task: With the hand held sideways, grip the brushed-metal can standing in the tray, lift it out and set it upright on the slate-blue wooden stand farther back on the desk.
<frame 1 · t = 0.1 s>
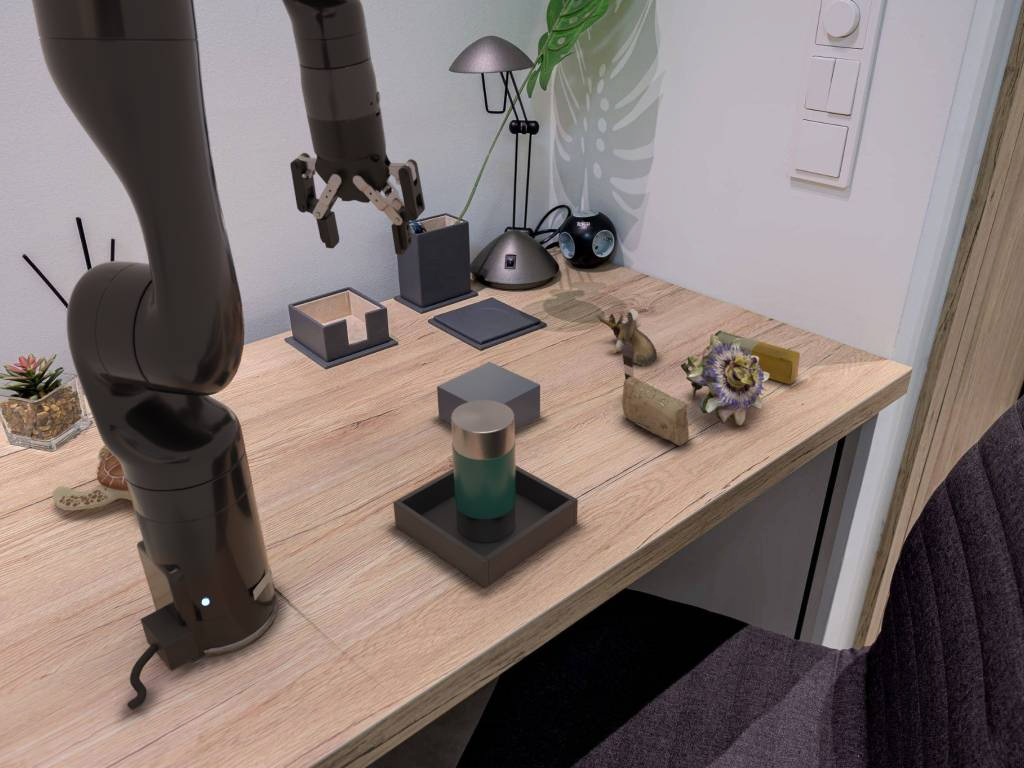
hand: (367, 248, 93), 22 cm above the table, tool pointing down, fingers open, 8 cm apart
medication box: (751, 372, 114), on the table
can: (486, 524, 84), resting on tray
passion flower: (716, 409, 105), on the table
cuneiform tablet: (649, 425, 102), on the table
stand: (489, 420, 103), on the table
tray: (486, 528, 85), on the table
decorative turtle: (146, 485, 92), on the table
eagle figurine: (628, 353, 119), on the table
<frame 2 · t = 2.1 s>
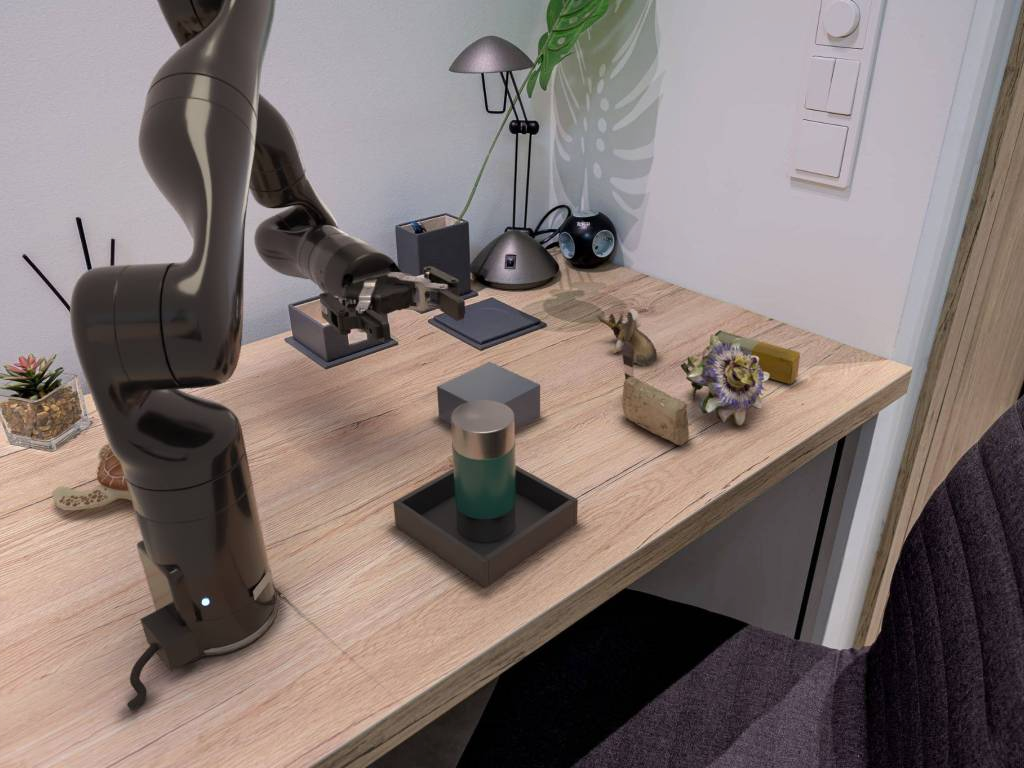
hand: (425, 322, 82), 20 cm above the table, tool horizontal, fingers open, 8 cm apart
nothing on the table moved.
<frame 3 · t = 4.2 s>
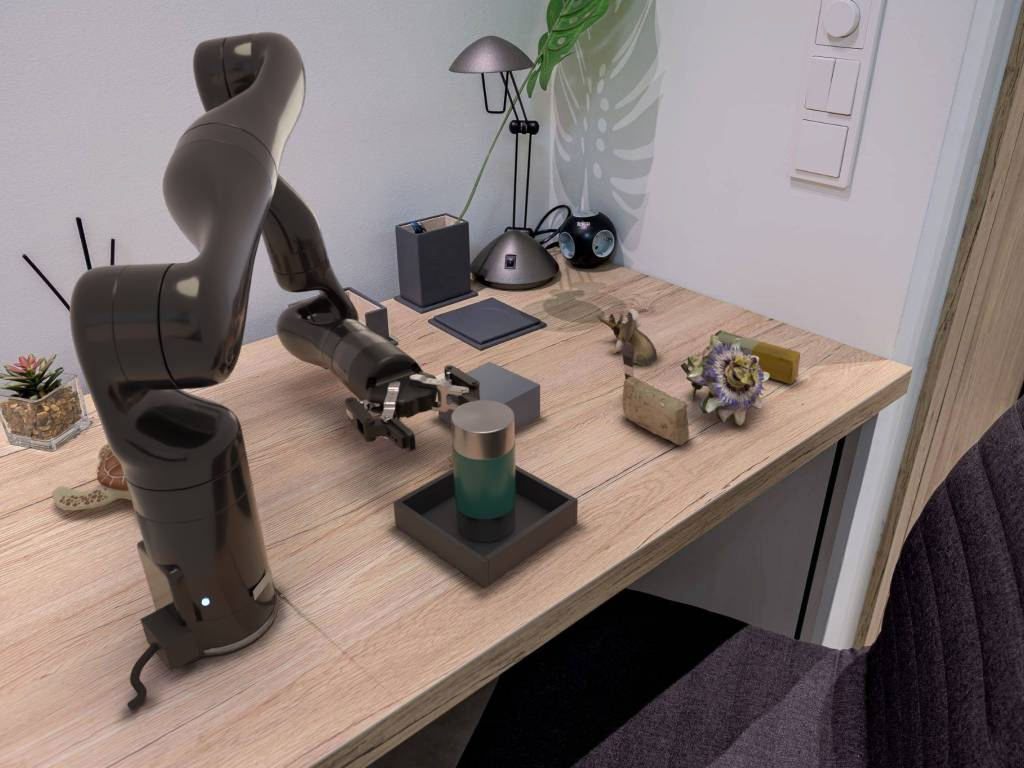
hand: (448, 430, 85), 9 cm above the table, tool horizontal, fingers open, 8 cm apart
nothing on the table moved.
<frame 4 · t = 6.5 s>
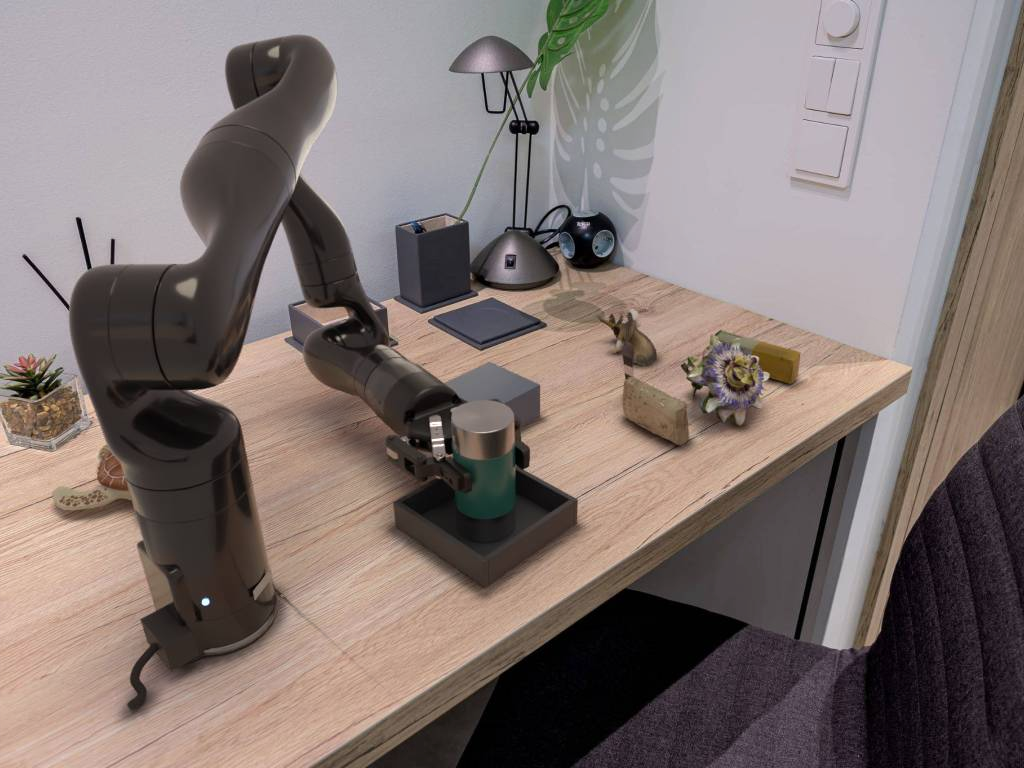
hand: (498, 472, 79), 8 cm above the table, tool horizontal, fingers closed on can, 6 cm apart
can: (486, 524, 84), point 1 cm above the table, touching tray, gripper
everything else where it was.
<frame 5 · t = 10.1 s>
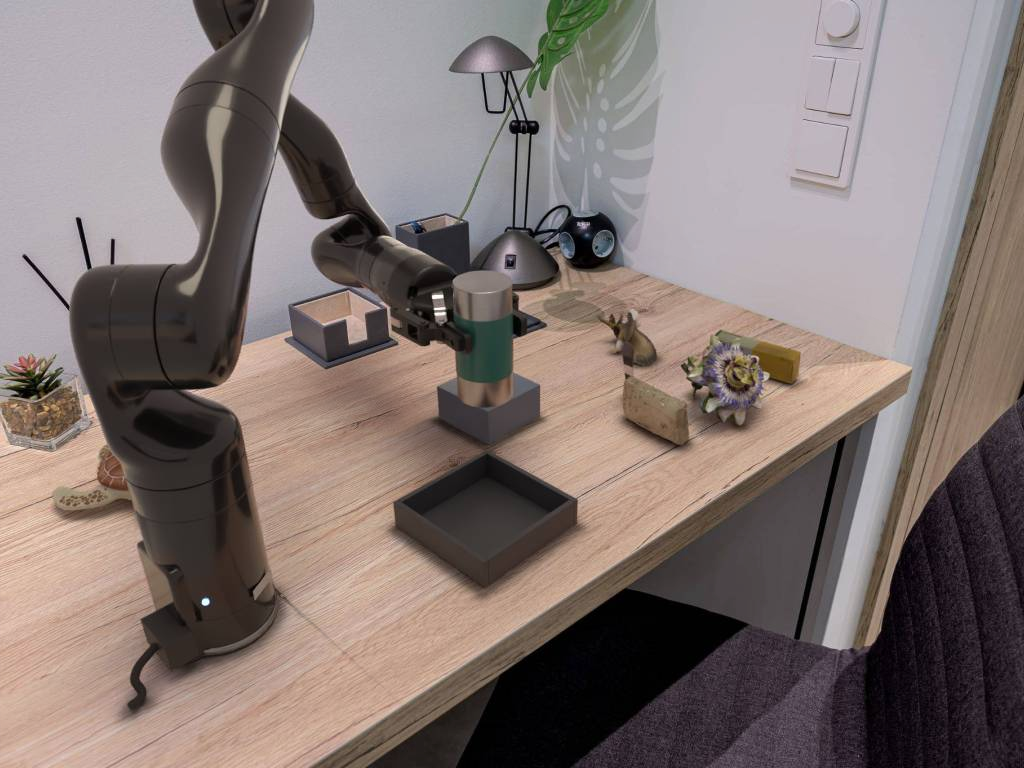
hand: (496, 336, 83), 18 cm above the table, tool horizontal, fingers closed on can, 6 cm apart
can: (485, 393, 89), point 10 cm above the table, touching gripper
everything else where it was.
when the fingers open (13 cm above the table, at t = 13.7 s): can stays where it is, resting on stand.
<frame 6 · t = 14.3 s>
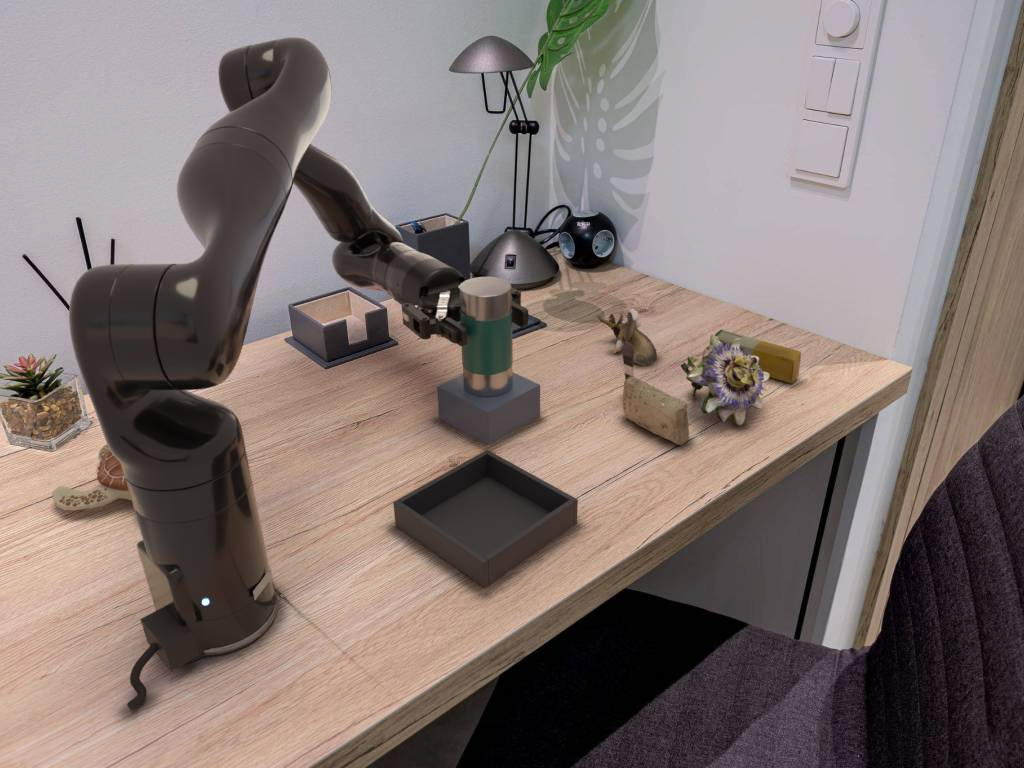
hand: (496, 328, 95), 13 cm above the table, tool horizontal, fingers open, 8 cm apart
can: (488, 385, 101), point 5 cm above the table, touching stand
everything else where it was.
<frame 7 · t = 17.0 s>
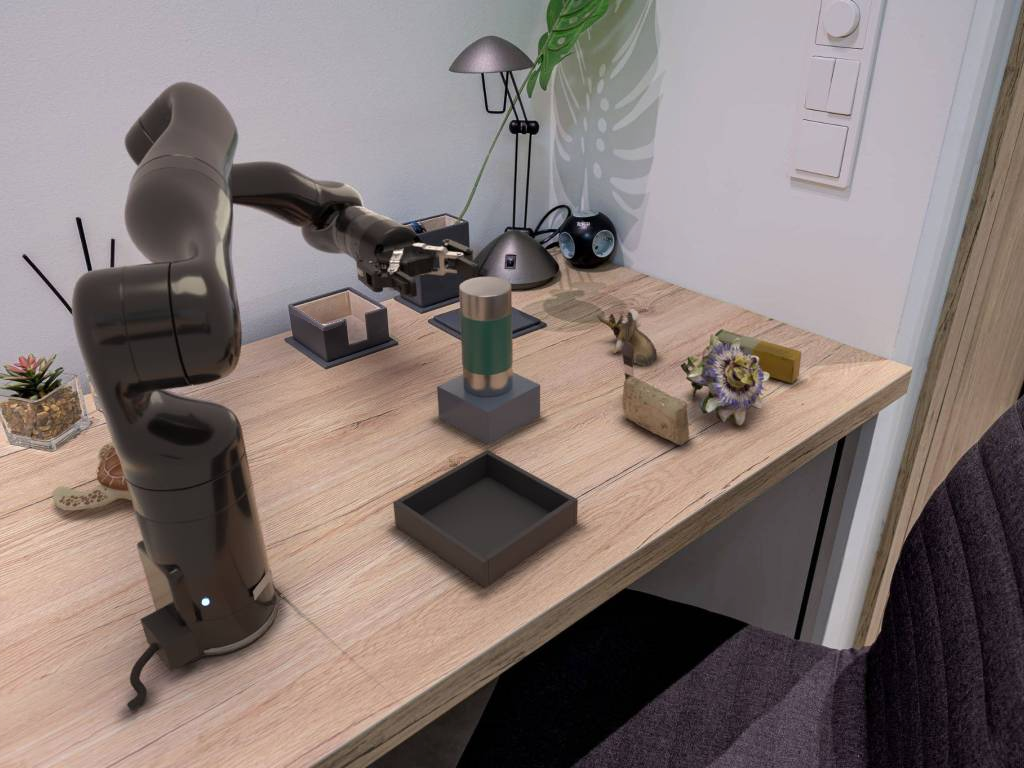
hand: (445, 281, 99), 17 cm above the table, tool horizontal, fingers open, 8 cm apart
nothing on the table moved.
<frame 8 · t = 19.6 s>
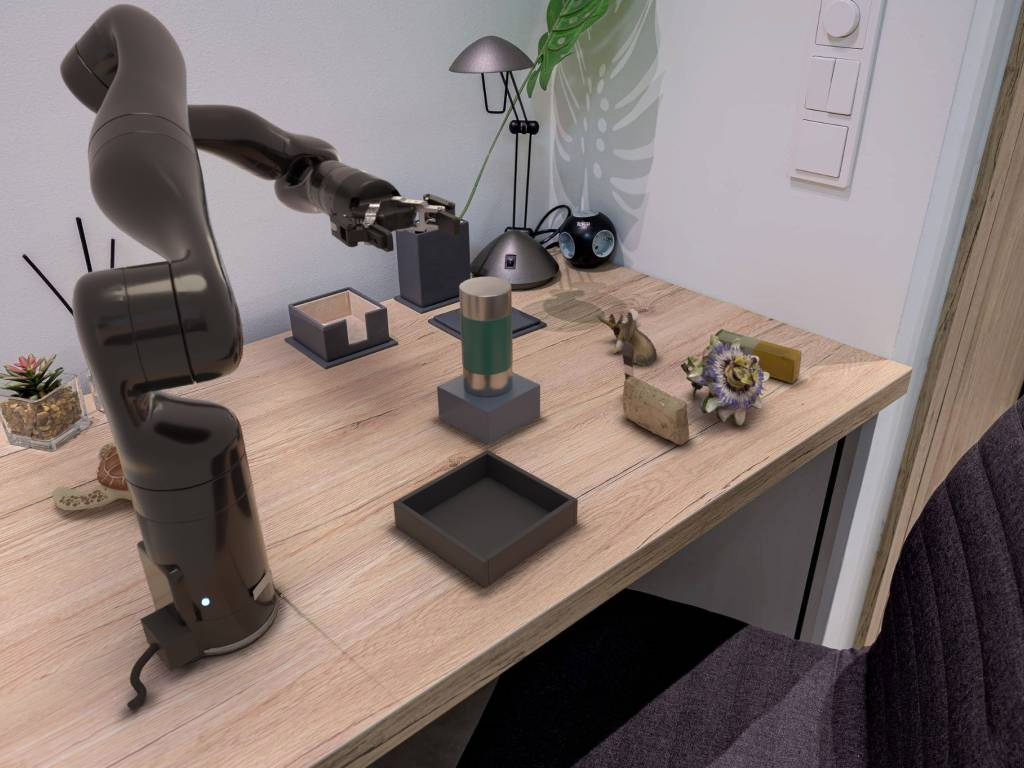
hand: (424, 235, 92), 24 cm above the table, tool horizontal, fingers open, 8 cm apart
nothing on the table moved.
at the end: can inside the target area on the stand (0.1 cm from its centre), point 5.0 cm above the stand's base; can tilted 0°; the gripper is holding nothing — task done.
